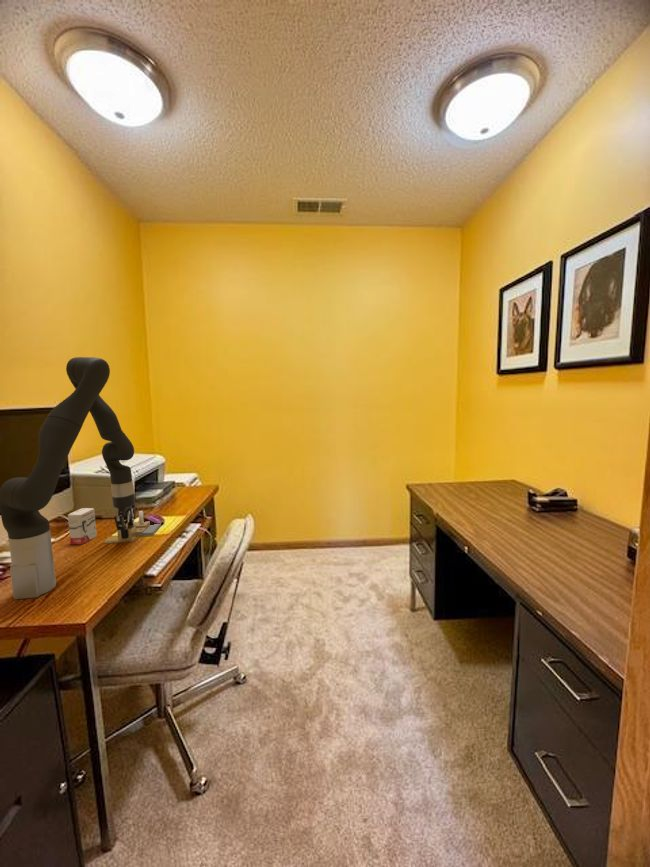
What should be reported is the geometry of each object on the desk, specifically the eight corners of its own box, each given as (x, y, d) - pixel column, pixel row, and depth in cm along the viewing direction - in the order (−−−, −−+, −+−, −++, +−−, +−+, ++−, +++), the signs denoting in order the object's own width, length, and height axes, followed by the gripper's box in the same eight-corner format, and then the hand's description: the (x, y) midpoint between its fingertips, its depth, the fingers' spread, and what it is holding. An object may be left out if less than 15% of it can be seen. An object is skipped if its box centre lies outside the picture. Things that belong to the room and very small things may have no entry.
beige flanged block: (137, 536, 143) (136, 524, 142) (132, 541, 138) (131, 529, 137) (110, 538, 141) (109, 526, 141) (104, 543, 136) (103, 531, 136)
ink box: (82, 544, 136) (79, 514, 134) (70, 545, 136) (66, 515, 135) (97, 535, 144) (94, 507, 143) (85, 536, 144) (82, 507, 143)
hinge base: (153, 535, 144) (151, 515, 143) (118, 537, 142) (116, 518, 141) (163, 522, 157) (162, 505, 156) (132, 525, 156) (130, 507, 155)
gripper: (126, 498, 131) (131, 542, 133) (140, 487, 145) (144, 526, 147) (104, 500, 130) (109, 544, 132) (120, 488, 144) (125, 528, 146)
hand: (128, 534), depth 140 cm, fingers closed on beige flanged block, 5 cm apart
